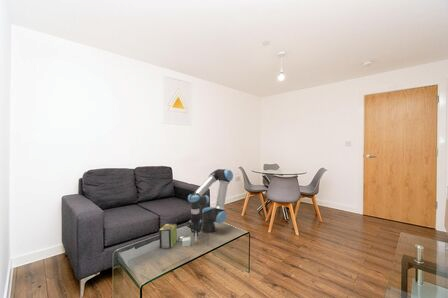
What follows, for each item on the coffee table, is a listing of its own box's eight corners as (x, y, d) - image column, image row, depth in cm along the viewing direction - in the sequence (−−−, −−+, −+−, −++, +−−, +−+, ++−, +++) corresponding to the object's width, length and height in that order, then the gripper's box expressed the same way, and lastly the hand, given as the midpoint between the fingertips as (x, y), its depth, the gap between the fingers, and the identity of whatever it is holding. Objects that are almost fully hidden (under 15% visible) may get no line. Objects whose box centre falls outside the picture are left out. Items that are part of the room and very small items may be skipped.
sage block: (182, 243, 184) (182, 237, 184) (190, 242, 185) (190, 237, 185) (182, 246, 177) (182, 240, 177) (190, 246, 178) (190, 240, 178)
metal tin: (178, 239, 192) (178, 235, 192) (185, 239, 193) (185, 234, 193) (177, 242, 186) (177, 238, 186) (184, 242, 187) (184, 237, 187)
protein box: (177, 240, 190) (176, 223, 191) (171, 248, 175) (170, 229, 175) (166, 240, 191) (165, 223, 192) (159, 248, 176) (158, 229, 176)
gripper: (187, 214, 178) (188, 242, 178) (202, 213, 180) (203, 241, 179) (188, 212, 186) (188, 239, 185) (202, 211, 188) (203, 237, 187)
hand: (195, 240), depth 182 cm, fingers closed
